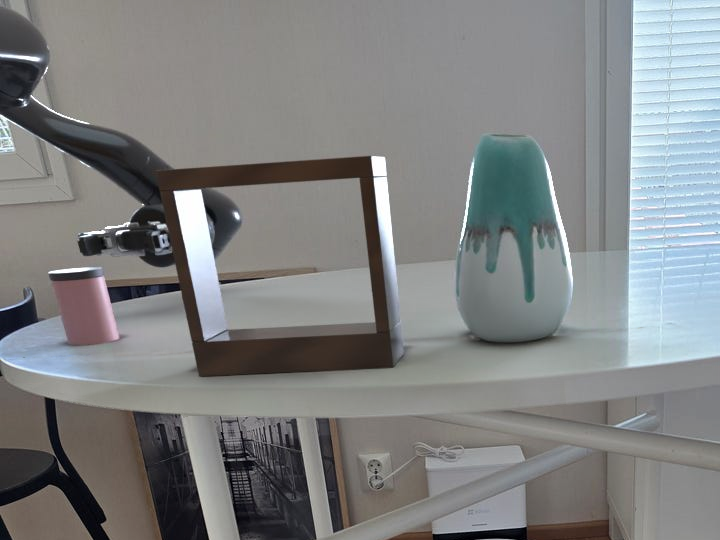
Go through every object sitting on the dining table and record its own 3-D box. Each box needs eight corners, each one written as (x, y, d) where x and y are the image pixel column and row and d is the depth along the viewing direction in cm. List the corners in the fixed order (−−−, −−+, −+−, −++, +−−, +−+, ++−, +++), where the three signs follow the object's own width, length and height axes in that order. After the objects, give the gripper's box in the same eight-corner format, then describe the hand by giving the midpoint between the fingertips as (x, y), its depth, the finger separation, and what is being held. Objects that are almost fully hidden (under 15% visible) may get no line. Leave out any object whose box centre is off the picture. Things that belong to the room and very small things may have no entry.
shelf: (198, 376, 78) (154, 170, 70) (222, 362, 83) (184, 170, 75) (393, 367, 76) (371, 155, 68) (404, 353, 82) (384, 156, 74)
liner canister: (60, 351, 96) (38, 274, 92) (83, 342, 100) (63, 268, 97) (107, 348, 95) (87, 271, 91) (129, 339, 100) (111, 265, 96)
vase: (593, 338, 83) (594, 124, 74) (483, 353, 80) (471, 130, 71) (542, 323, 93) (538, 132, 84) (442, 336, 89) (427, 138, 81)
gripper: (111, 207, 116) (51, 213, 102) (212, 200, 115) (166, 206, 101) (125, 267, 120) (69, 281, 105) (224, 261, 118) (180, 274, 104)
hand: (116, 244), depth 103 cm, fingers open, 8 cm apart
